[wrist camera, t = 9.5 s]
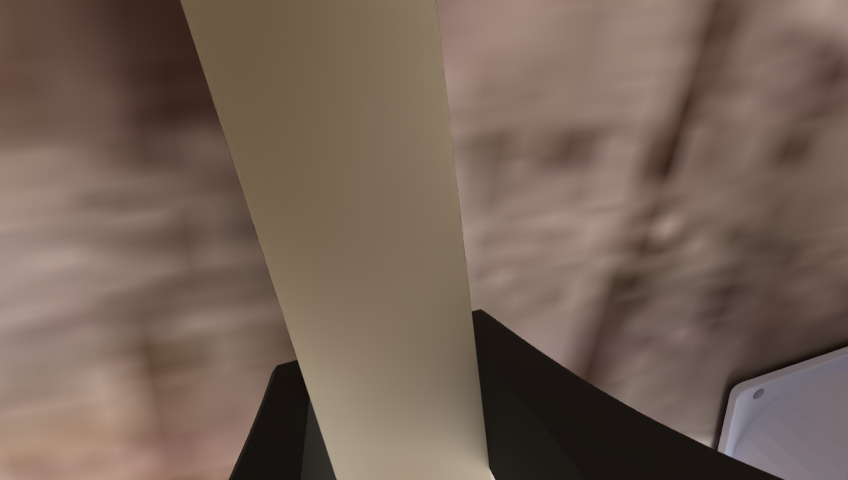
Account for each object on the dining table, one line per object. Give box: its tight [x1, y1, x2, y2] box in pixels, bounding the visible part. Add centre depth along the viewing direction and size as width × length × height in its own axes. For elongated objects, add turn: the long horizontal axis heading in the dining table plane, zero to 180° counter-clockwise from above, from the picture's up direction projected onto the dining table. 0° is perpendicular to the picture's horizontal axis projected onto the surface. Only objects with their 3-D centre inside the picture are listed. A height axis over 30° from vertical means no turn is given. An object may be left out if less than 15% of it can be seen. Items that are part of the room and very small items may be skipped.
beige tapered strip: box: [180, 0, 491, 480], centre depth 9 cm, size 2×16×4 cm, turn 8°
